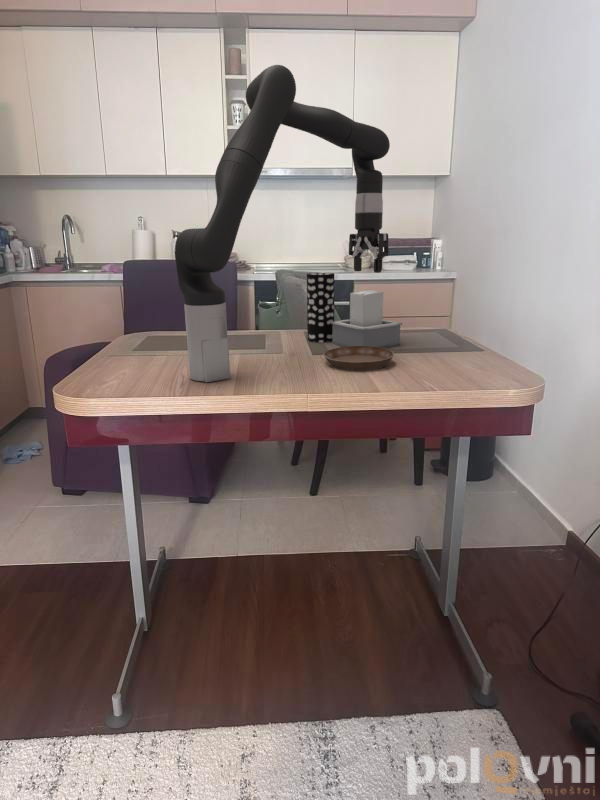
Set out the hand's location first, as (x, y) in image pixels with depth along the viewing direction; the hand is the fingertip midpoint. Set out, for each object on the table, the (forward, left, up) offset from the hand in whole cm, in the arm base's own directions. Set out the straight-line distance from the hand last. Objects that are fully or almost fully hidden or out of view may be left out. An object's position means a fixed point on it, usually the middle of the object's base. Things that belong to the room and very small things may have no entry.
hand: (367, 271), depth 152 cm
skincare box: (0, 0, -21) cm, 21 cm away
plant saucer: (-17, +17, -21) cm, 32 cm away
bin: (0, 0, -21) cm, 21 cm away
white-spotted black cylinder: (+14, +6, -21) cm, 26 cm away
